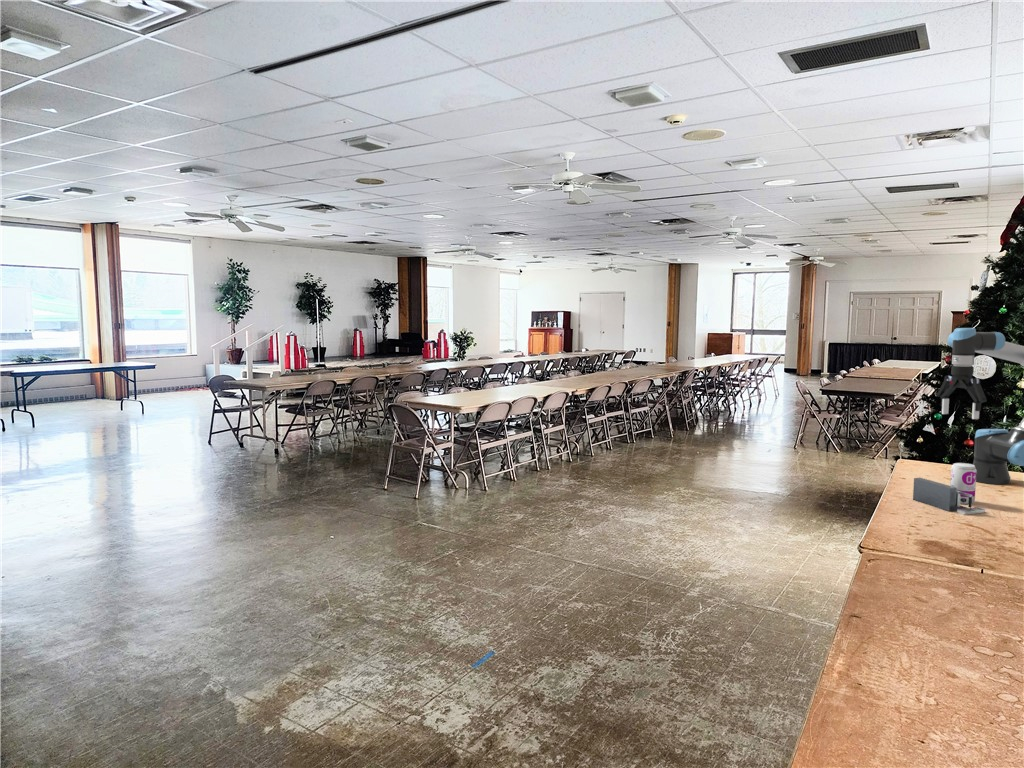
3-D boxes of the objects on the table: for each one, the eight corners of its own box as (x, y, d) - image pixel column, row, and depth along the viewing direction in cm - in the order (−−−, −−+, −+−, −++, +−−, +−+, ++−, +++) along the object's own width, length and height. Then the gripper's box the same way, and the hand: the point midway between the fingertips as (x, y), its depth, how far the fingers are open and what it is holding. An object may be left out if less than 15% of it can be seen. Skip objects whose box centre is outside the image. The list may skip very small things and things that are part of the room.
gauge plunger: (927, 496, 259) (928, 482, 258) (971, 510, 240) (972, 494, 240) (925, 497, 258) (925, 482, 258) (969, 510, 240) (970, 495, 239)
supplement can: (979, 504, 250) (981, 467, 249) (958, 505, 250) (960, 467, 249) (965, 498, 258) (967, 462, 257) (944, 499, 258) (946, 462, 257)
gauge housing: (935, 497, 261) (936, 475, 260) (985, 512, 241) (986, 489, 240) (912, 499, 258) (913, 478, 257) (961, 515, 238) (962, 491, 237)
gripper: (928, 363, 275) (926, 412, 277) (984, 368, 251) (981, 421, 253) (942, 363, 277) (940, 411, 279) (999, 367, 253) (996, 420, 255)
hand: (959, 416), depth 266 cm, fingers open, 13 cm apart
